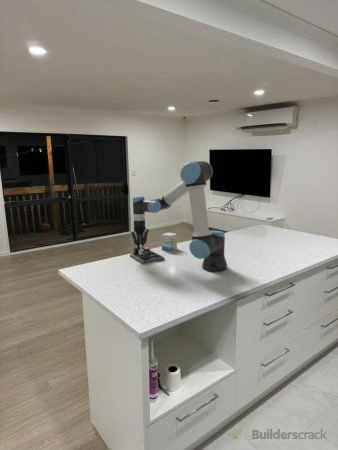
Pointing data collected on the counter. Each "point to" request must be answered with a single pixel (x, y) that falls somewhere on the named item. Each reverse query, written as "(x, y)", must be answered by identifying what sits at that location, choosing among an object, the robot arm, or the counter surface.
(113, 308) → the counter surface
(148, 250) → the handle
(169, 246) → the ink box
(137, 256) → the panel
